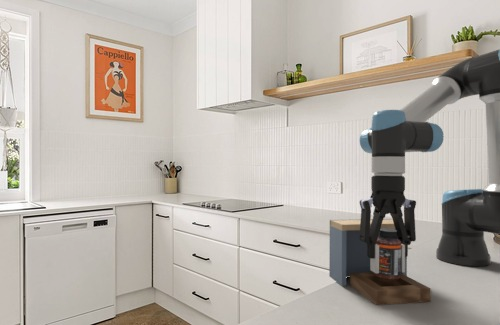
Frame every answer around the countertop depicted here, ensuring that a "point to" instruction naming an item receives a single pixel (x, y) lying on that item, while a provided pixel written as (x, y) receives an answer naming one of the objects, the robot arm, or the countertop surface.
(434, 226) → the countertop surface
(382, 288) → the socket
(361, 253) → the blue open cabinet
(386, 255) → the supplement bottle
